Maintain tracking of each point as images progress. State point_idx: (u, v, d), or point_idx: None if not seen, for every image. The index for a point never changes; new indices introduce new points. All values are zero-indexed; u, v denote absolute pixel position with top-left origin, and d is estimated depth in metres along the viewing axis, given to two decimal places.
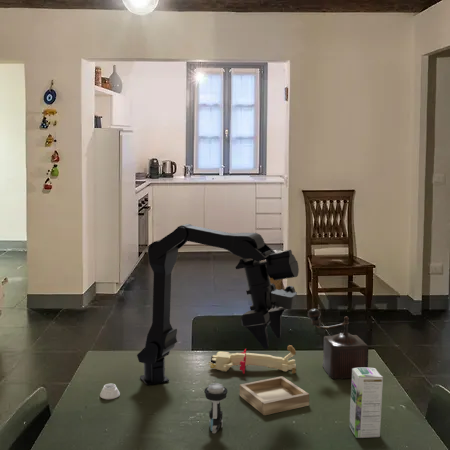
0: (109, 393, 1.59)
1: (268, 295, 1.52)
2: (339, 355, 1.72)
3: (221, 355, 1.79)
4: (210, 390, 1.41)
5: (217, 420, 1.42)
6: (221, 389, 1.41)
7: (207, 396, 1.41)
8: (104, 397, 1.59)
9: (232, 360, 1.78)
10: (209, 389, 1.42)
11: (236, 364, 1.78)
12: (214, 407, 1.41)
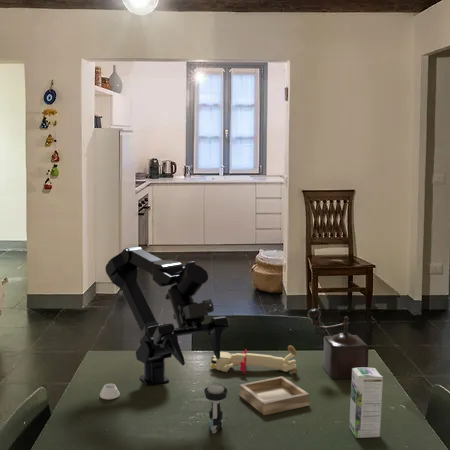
0: (109, 393, 1.59)
1: (180, 311, 1.52)
2: (339, 355, 1.72)
3: (222, 355, 1.79)
4: (210, 390, 1.41)
5: (217, 420, 1.42)
6: (221, 389, 1.41)
7: (207, 396, 1.41)
8: (104, 397, 1.59)
9: (232, 360, 1.78)
10: (209, 389, 1.42)
11: (236, 364, 1.78)
12: (214, 407, 1.41)
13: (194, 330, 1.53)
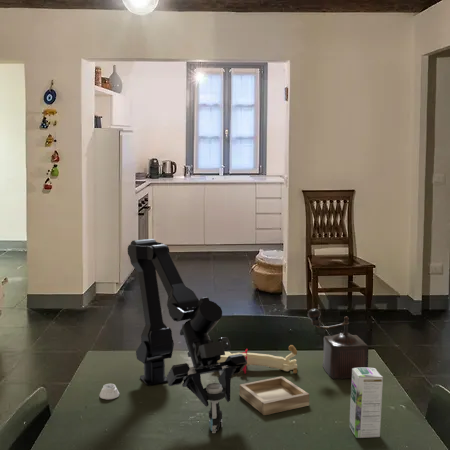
0: (108, 393, 1.59)
1: (195, 350, 1.45)
2: (339, 355, 1.72)
3: None
4: (208, 390, 1.41)
5: (217, 420, 1.42)
6: (219, 389, 1.41)
7: None
8: (104, 397, 1.59)
9: None
10: (207, 389, 1.42)
11: None
12: (213, 407, 1.41)
13: (210, 369, 1.45)
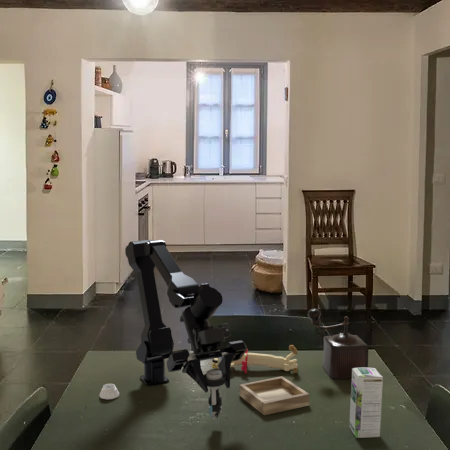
0: (108, 393, 1.59)
1: (195, 336, 1.44)
2: (339, 355, 1.72)
3: None
4: (208, 376, 1.41)
5: (216, 406, 1.41)
6: (219, 375, 1.41)
7: None
8: (103, 397, 1.59)
9: None
10: (207, 375, 1.41)
11: (238, 364, 1.79)
12: (213, 393, 1.41)
13: (210, 356, 1.45)
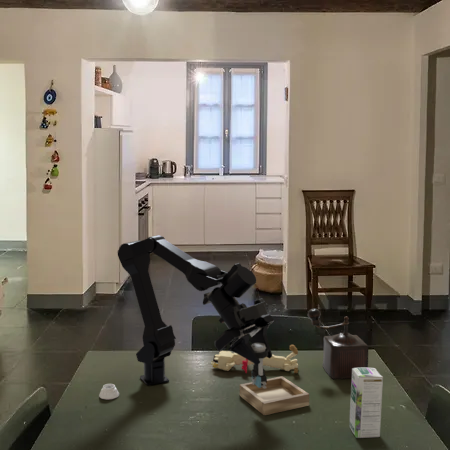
0: (108, 393, 1.59)
1: (236, 314, 1.50)
2: (339, 355, 1.72)
3: (224, 354, 1.79)
4: (256, 349, 1.49)
5: (264, 376, 1.50)
6: (264, 346, 1.50)
7: None
8: (103, 397, 1.59)
9: (234, 359, 1.78)
10: (254, 349, 1.49)
11: (238, 363, 1.79)
12: (260, 364, 1.50)
13: (248, 331, 1.53)
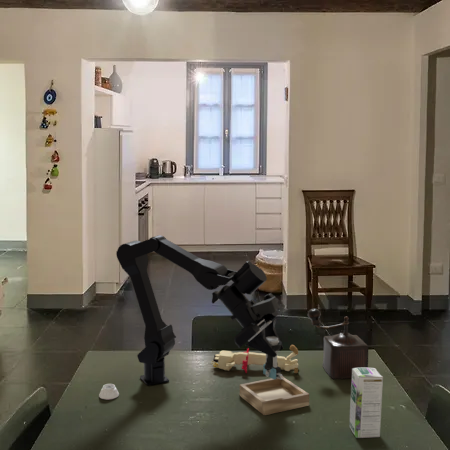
0: (108, 393, 1.59)
1: (250, 310, 1.55)
2: (339, 355, 1.72)
3: (224, 354, 1.79)
4: (271, 343, 1.55)
5: (278, 368, 1.57)
6: None
7: None
8: (103, 397, 1.59)
9: (234, 359, 1.79)
10: (270, 342, 1.55)
11: (239, 363, 1.79)
12: (275, 357, 1.56)
13: (259, 326, 1.58)
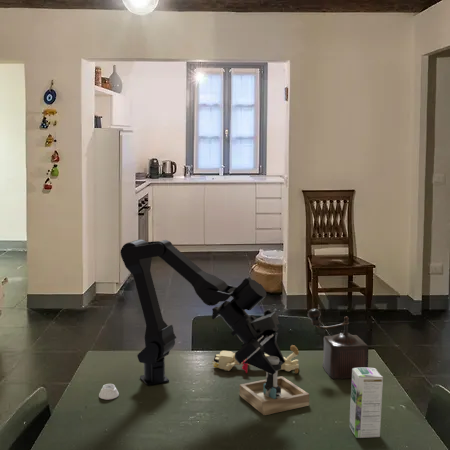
0: (108, 393, 1.59)
1: (250, 326, 1.55)
2: (339, 355, 1.72)
3: (224, 354, 1.79)
4: (272, 362, 1.56)
5: (278, 387, 1.57)
6: (278, 359, 1.58)
7: None
8: (103, 397, 1.59)
9: (235, 359, 1.79)
10: (270, 362, 1.56)
11: None
12: (275, 376, 1.57)
13: (259, 341, 1.59)
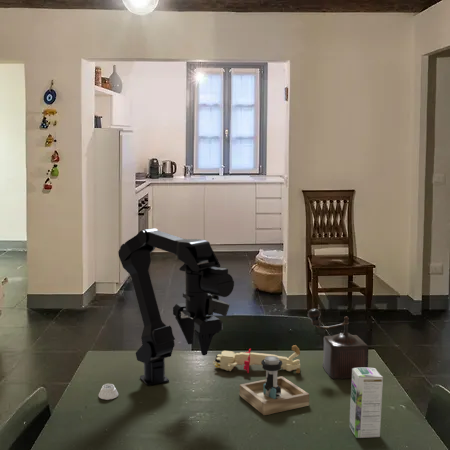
0: (107, 393, 1.59)
1: (211, 302, 1.55)
2: (339, 355, 1.72)
3: (226, 354, 1.79)
4: (272, 362, 1.56)
5: (278, 387, 1.57)
6: (278, 359, 1.58)
7: (270, 368, 1.56)
8: (102, 397, 1.59)
9: (236, 359, 1.79)
10: (270, 362, 1.56)
11: (240, 363, 1.79)
12: (275, 376, 1.57)
13: None
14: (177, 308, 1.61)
